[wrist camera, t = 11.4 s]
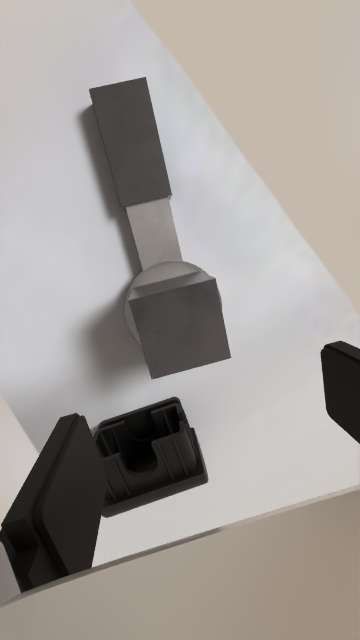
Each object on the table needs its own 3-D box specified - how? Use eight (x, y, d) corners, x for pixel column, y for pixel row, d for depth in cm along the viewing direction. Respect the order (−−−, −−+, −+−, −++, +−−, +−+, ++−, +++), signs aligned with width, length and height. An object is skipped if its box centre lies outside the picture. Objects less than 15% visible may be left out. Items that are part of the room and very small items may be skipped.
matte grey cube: (198, 271, 23) (215, 278, 17) (211, 332, 25) (231, 357, 19) (133, 287, 23) (128, 300, 17) (151, 349, 25) (151, 379, 19)
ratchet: (224, 337, 27) (242, 356, 22) (140, 359, 26) (138, 384, 22) (175, 85, 21) (183, 34, 16) (63, 109, 20) (36, 64, 15)
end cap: (117, 472, 30) (109, 534, 23) (93, 423, 28) (77, 476, 21) (200, 444, 30) (214, 497, 24) (182, 393, 28) (192, 436, 22)
